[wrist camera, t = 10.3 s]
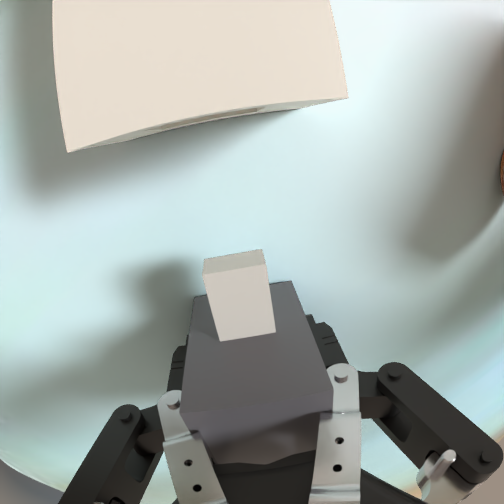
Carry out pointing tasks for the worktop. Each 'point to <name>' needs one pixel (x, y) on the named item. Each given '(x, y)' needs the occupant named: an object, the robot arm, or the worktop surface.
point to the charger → (252, 366)
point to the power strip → (188, 63)
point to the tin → (502, 173)
